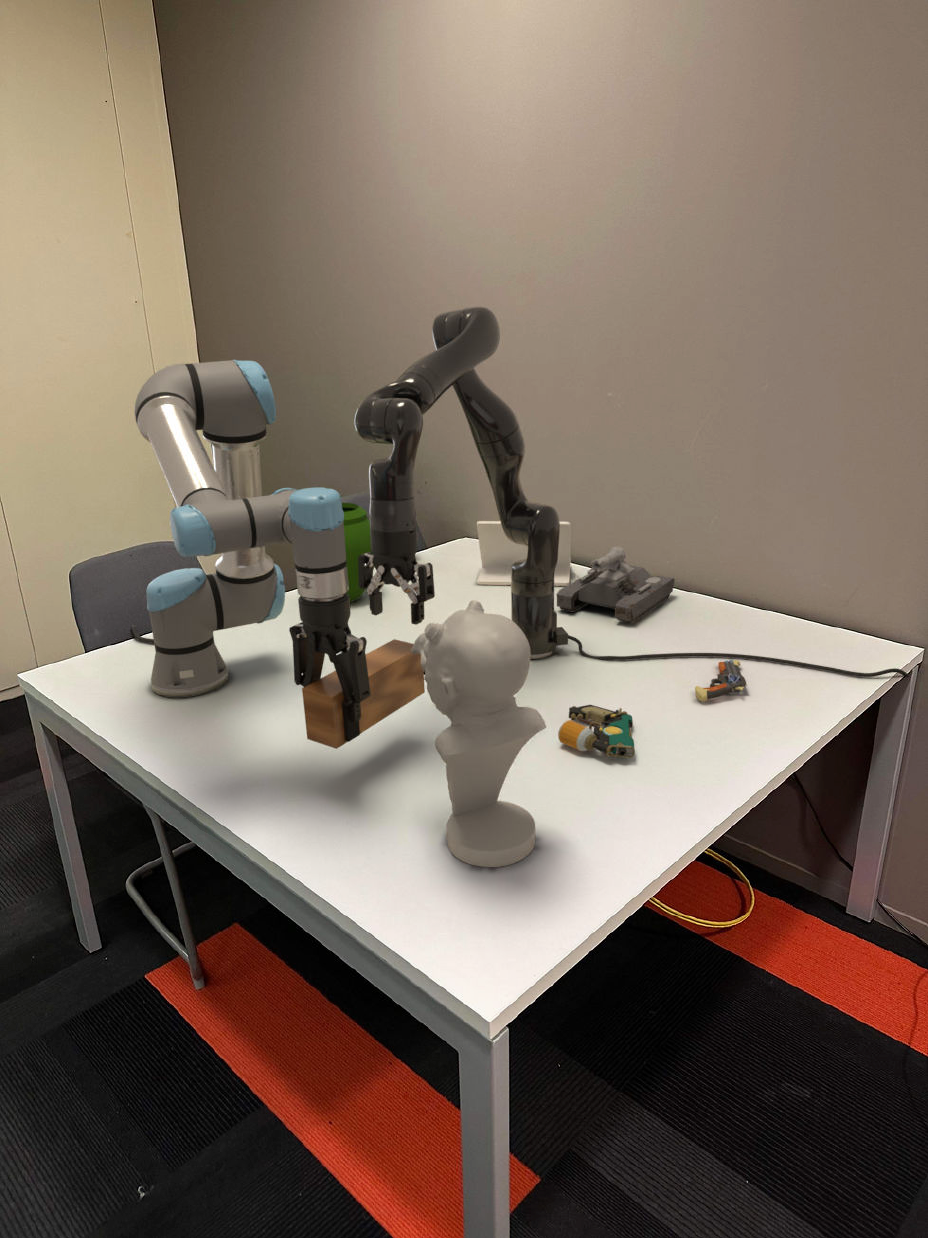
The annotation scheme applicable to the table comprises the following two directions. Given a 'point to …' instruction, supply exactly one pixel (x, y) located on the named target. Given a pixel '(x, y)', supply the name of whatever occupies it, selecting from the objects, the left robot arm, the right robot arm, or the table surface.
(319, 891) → the table surface
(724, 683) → the toy gun
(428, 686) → the bust sculpture
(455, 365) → the right robot arm
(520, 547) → the tablet stand
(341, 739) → the box
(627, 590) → the toy
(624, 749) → the spray gun
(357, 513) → the vase
